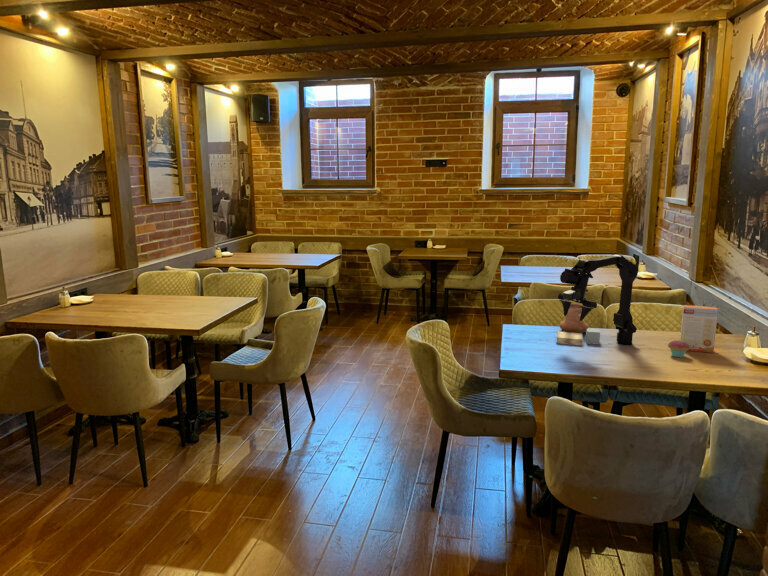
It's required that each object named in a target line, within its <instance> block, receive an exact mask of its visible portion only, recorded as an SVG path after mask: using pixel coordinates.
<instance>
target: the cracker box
mask: <svg viewBox="0 0 768 576" xmlns="http://www.w3.org/2000/svg"><path fill="white" fill-rule="evenodd" d="M718 313H719V310H718V308H717V307H713V306H703V305H701V306H700V305H690V304H688V305H687V304H683V306H682V315H681V316H682V317H681V325H680V327H681V328H680V335H679V340H680V341H681V340H682V337H683V333H684V332H685V336H684V339H683V342H686V343H687V344H689V350H688V351H691V352H701V353H702V352H703V353H708V354H709V353H710V354H713V353H714V352H715V342H716V341H715V340H716V332H717V322H718Z"/></svg>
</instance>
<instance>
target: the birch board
mask: <svg viewBox="0 0 768 576" xmlns="http://www.w3.org/2000/svg"><path fill="white" fill-rule="evenodd" d="M583 342H584V338H583V333H573V332H565V331H561V330H560V331H556V344H559V345H561V344H562V345H572V346H573V345H574V346H583Z"/></svg>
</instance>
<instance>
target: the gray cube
mask: <svg viewBox="0 0 768 576" xmlns="http://www.w3.org/2000/svg"><path fill="white" fill-rule="evenodd" d="M600 330H601V329H597V328H588V329H587V331H586V332H585V333H586V335H585V336H586V337H585V343H586V344H591V343H595V344H594V345H600V344H601V343H600V341H601V331H600Z"/></svg>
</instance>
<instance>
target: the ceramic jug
mask: <svg viewBox="0 0 768 576" xmlns="http://www.w3.org/2000/svg"><path fill="white" fill-rule="evenodd" d="M581 306H583V305H582V304H580V303H571V305H570V308H569V310H568V313H567V315H566V316H564V317H565V319H564V320H562V321H560V323H559V328H560V330H561V331H562V332H573V333H582V334H583V333H586V332H587V329H589V325H588V324H587V322H585V321H584V319H583V320H582V321H580V316H581V312H582V308H581Z"/></svg>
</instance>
